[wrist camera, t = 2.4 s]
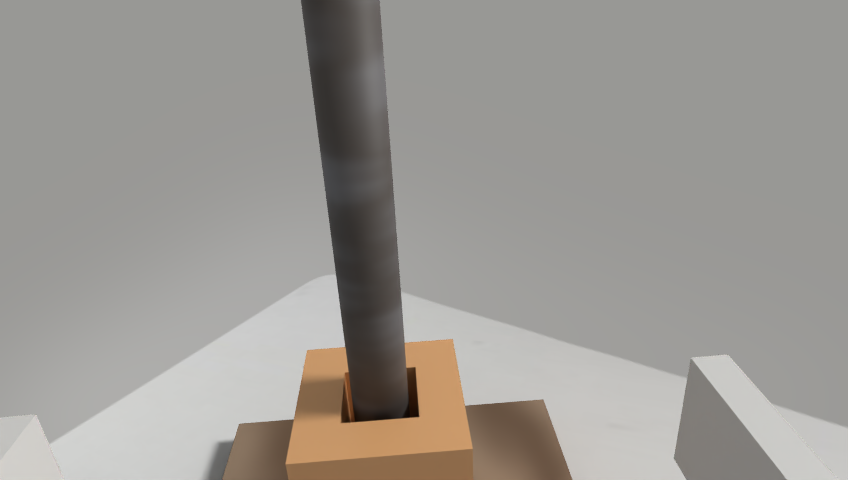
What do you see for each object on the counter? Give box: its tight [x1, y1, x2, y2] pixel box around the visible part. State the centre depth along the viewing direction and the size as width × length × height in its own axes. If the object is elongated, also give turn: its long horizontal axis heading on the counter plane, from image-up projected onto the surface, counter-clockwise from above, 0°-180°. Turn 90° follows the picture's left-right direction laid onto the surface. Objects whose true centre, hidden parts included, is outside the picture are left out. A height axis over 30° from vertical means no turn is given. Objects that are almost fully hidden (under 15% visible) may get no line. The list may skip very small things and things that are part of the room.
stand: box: [222, 0, 572, 480], centre depth 22 cm, size 20×20×35 cm
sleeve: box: [285, 339, 473, 480], centre depth 27 cm, size 7×7×10 cm
